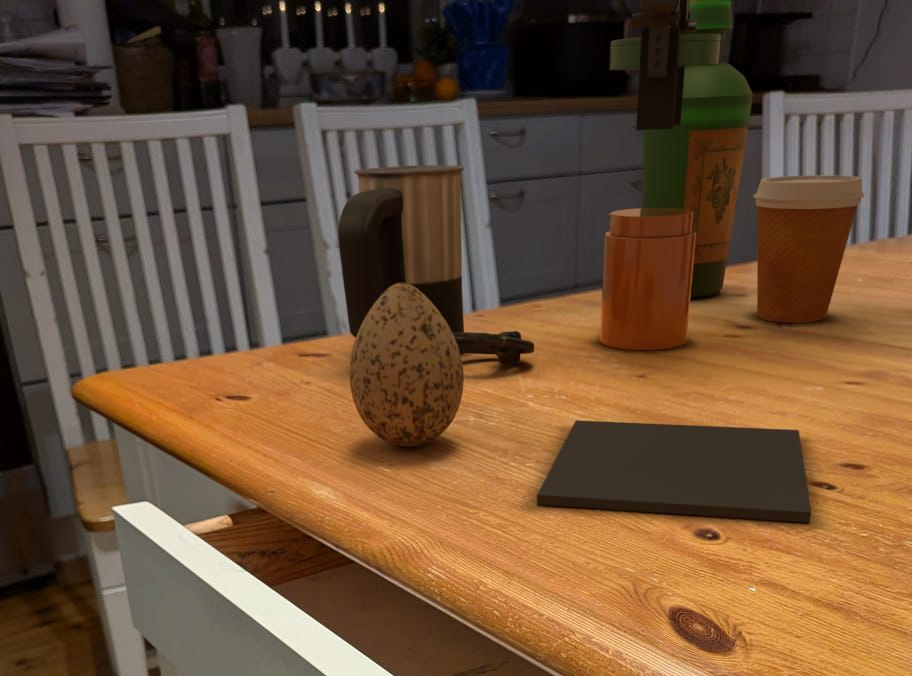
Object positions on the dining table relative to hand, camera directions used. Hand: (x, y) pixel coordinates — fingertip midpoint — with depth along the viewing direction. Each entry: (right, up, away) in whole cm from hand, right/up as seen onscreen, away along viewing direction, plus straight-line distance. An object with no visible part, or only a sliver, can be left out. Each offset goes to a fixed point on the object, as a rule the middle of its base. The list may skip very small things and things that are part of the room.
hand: (659, 127), depth 77 cm
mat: (-4, -31, -20) cm, 38 cm away
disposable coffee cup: (+16, -10, +16) cm, 25 cm away
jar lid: (0, +5, -3) cm, 6 cm away
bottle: (+9, -3, +29) cm, 30 cm away
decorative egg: (-20, -29, -14) cm, 38 cm away
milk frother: (-17, -17, +7) cm, 25 cm away
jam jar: (+1, -14, +9) cm, 17 cm away
